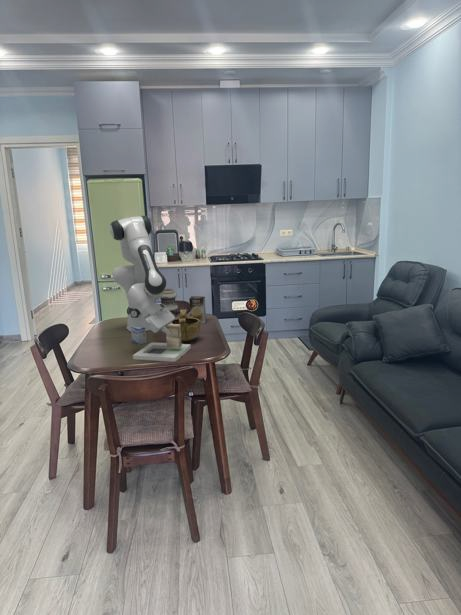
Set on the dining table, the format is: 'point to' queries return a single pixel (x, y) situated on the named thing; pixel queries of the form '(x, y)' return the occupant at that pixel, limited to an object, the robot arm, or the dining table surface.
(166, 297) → the apothecary jar
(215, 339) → the dining table surface
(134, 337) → the medicine box
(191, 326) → the ceramic bowl
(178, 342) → the birch block
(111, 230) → the robot arm
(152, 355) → the hole board
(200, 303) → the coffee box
